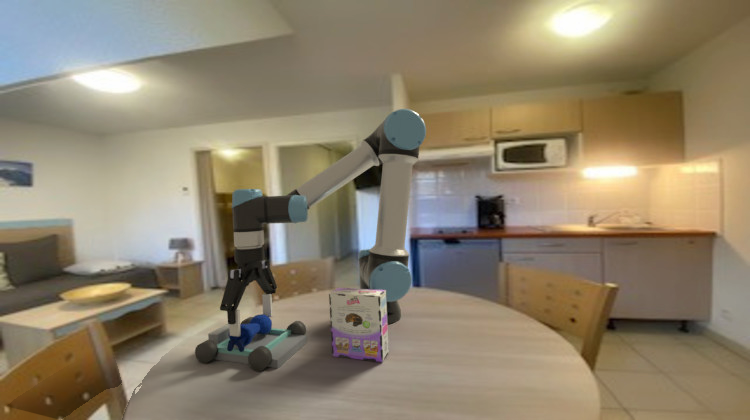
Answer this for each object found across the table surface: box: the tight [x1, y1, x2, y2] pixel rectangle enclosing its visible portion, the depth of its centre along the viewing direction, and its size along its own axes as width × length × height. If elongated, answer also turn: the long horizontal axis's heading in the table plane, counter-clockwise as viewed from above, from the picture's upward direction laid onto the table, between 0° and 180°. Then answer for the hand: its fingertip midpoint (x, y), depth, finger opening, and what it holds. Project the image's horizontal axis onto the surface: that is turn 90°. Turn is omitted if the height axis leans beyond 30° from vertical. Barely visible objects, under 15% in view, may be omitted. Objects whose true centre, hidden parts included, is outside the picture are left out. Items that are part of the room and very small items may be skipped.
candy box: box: [328, 287, 390, 363], centre depth 83 cm, size 14×6×16 cm, turn 71°
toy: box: [227, 313, 273, 352], centre depth 87 cm, size 7×6×15 cm
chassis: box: [194, 316, 308, 372], centre depth 88 cm, size 24×19×5 cm
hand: (252, 325), depth 88 cm, fingers closed on toy, 13 cm apart
